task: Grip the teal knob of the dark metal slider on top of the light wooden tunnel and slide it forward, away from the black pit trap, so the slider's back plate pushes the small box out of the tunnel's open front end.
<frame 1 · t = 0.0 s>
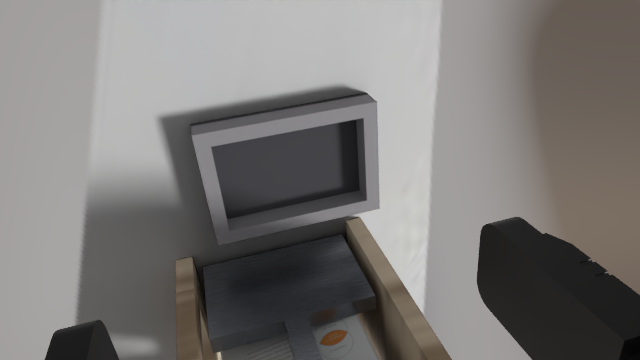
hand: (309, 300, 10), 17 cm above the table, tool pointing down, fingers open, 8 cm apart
tunnel: (281, 296, 32), on the table
pit trap: (289, 163, 28), on the table
small box: (280, 293, 33), on the table
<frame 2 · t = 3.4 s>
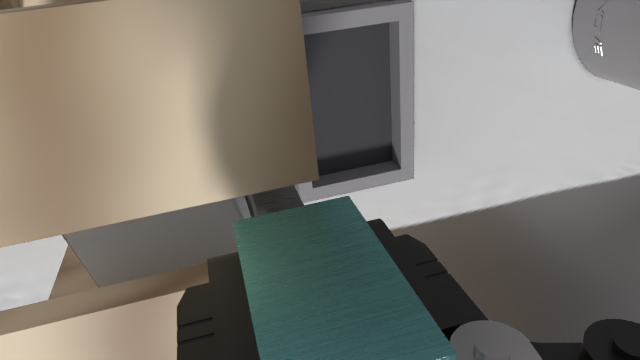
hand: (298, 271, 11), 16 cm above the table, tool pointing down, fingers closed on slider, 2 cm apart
tunnel: (153, 101, 24), on the table
pit trap: (344, 100, 26), on the table
slider: (262, 172, 15), point 11 cm above the table, slide at 0.0 cm, touching gripper
small box: (153, 100, 24), on the table
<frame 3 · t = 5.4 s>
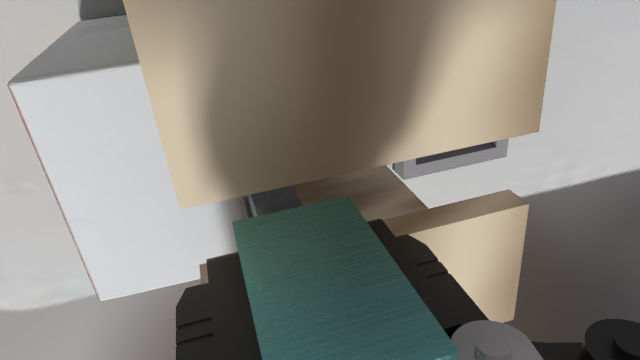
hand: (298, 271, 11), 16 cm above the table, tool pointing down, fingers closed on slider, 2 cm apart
tunnel: (276, 80, 25), on the table
pit trap: (445, 81, 28), on the table
slider: (260, 173, 15), point 11 cm above the table, slide at 6.5 cm, touching gripper, small box
small box: (162, 93, 24), on the table, touching slider
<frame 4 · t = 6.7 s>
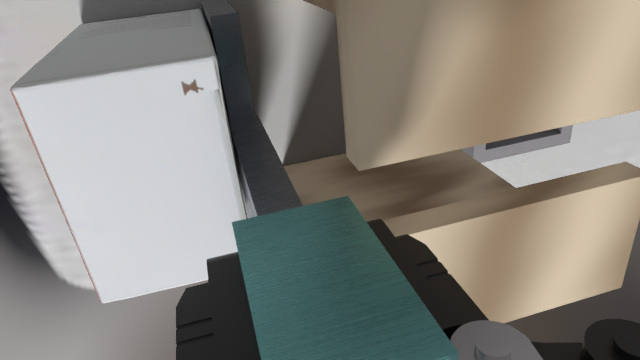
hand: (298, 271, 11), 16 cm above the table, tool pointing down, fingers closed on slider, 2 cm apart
tunnel: (358, 66, 26), on the table
pit trap: (514, 69, 29), on the table
slider: (261, 173, 15), point 10 cm above the table, slide at 11.1 cm, touching gripper, small box
small box: (164, 95, 24), on the table, touching slider
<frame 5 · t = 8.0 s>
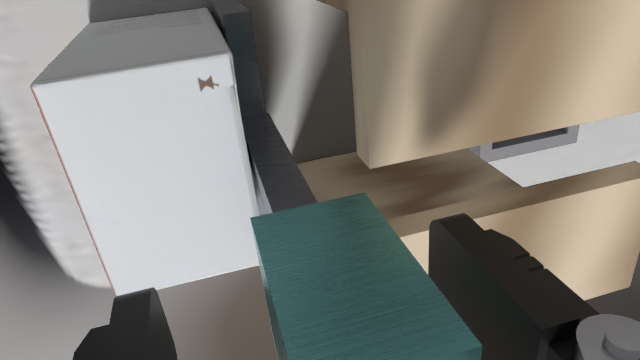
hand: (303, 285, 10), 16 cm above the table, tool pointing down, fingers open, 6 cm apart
tunnel: (365, 66, 26), on the table
pit trap: (521, 68, 29), on the table
slider: (273, 170, 15), point 11 cm above the table, slide at 11.0 cm
small box: (170, 94, 24), on the table
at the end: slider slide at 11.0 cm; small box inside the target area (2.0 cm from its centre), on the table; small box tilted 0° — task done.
